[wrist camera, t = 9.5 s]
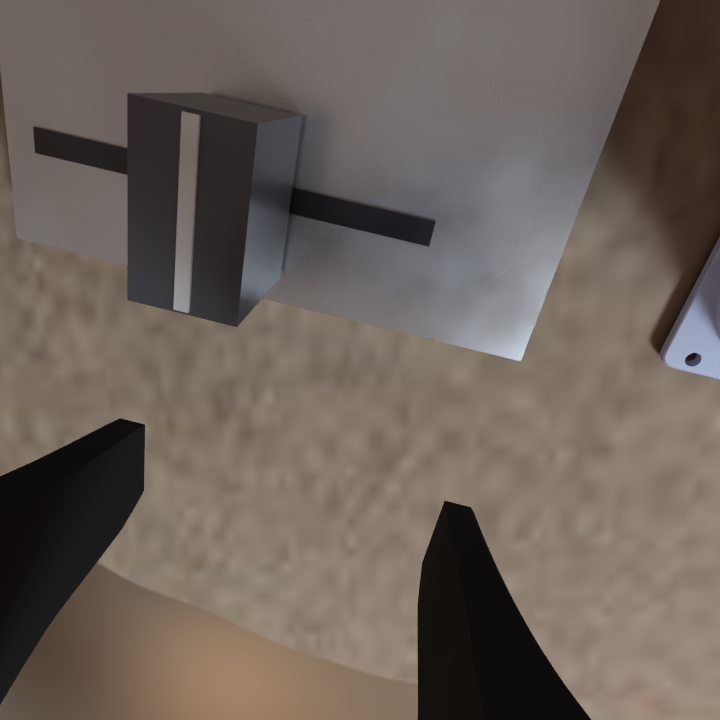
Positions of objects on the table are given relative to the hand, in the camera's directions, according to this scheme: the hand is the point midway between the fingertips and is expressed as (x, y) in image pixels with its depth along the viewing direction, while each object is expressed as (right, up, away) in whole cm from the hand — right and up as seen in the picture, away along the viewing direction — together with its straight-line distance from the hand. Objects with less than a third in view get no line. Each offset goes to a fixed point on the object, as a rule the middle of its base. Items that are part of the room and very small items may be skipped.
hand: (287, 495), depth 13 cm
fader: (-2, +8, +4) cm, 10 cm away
